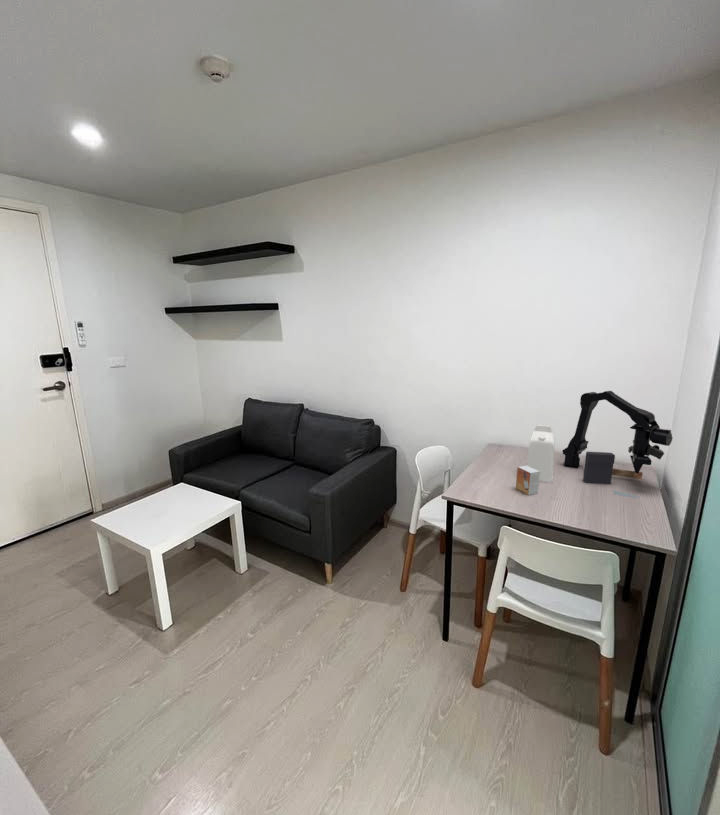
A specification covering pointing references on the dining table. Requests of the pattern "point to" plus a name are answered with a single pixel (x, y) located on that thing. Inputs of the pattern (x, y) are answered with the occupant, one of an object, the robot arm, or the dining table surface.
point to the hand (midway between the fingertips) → (636, 473)
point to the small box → (527, 480)
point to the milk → (542, 452)
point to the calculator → (598, 467)
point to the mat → (624, 494)
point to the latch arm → (627, 473)
